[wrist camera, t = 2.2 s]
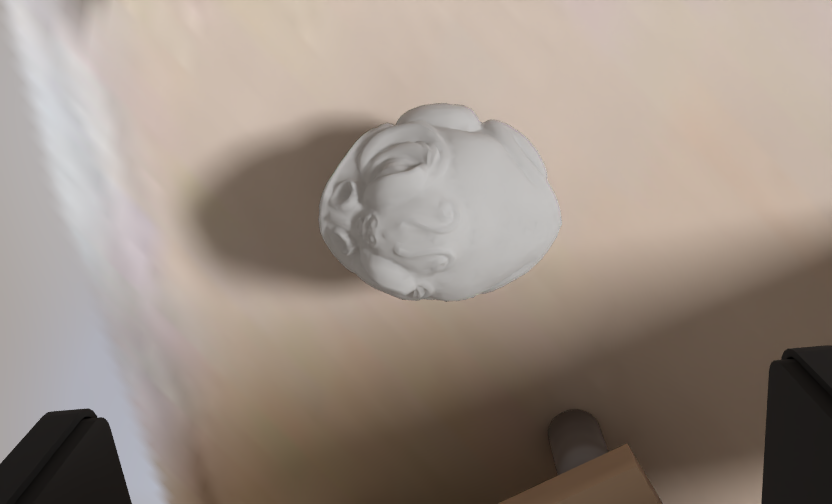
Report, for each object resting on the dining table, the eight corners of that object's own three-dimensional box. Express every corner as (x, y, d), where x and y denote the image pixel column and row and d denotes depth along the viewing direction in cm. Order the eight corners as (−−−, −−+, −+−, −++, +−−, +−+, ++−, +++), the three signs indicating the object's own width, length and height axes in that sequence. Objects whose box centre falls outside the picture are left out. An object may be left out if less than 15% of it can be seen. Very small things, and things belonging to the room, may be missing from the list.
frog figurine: (348, 77, 25) (315, 112, 18) (557, 99, 25) (599, 140, 19) (337, 249, 27) (304, 334, 21) (530, 268, 27) (559, 360, 21)
